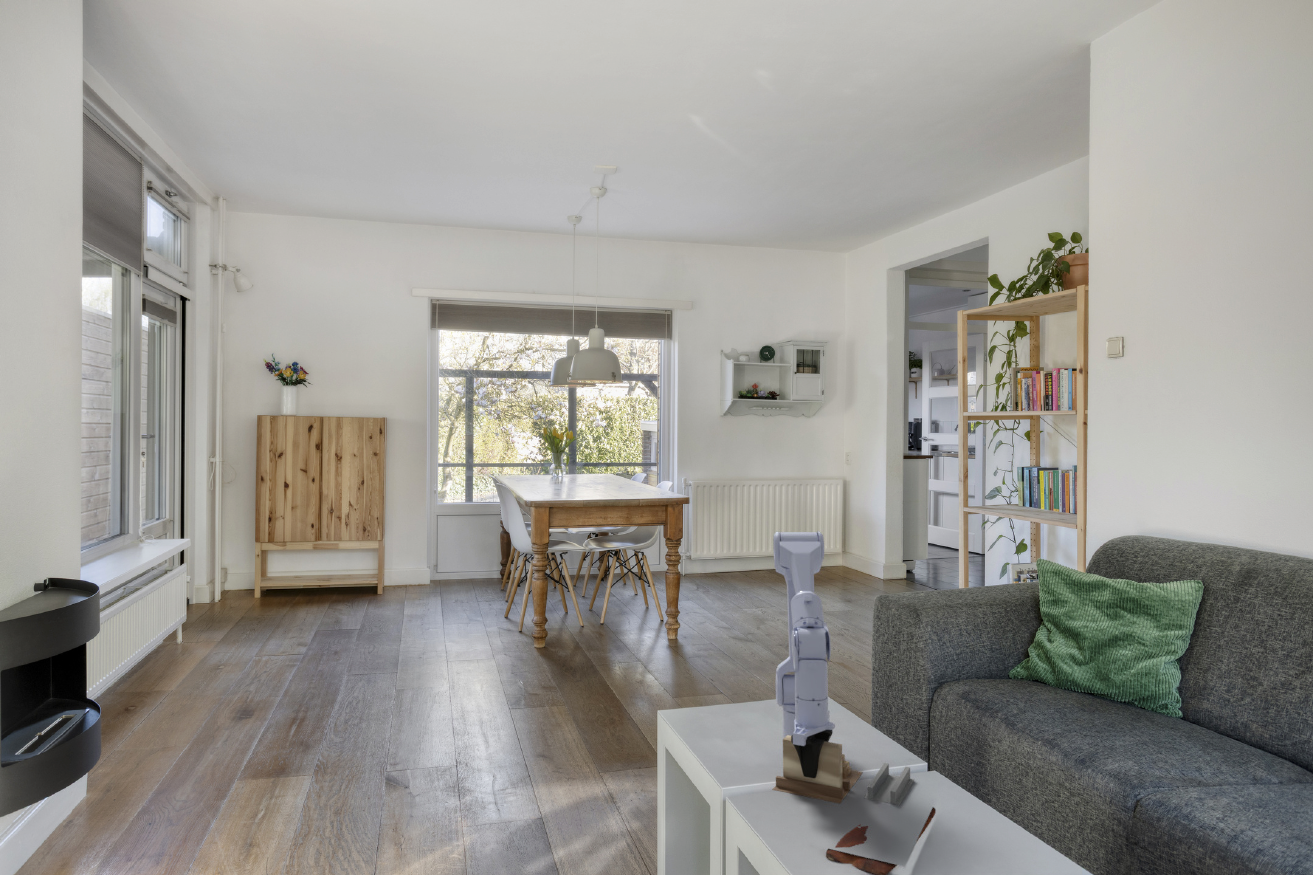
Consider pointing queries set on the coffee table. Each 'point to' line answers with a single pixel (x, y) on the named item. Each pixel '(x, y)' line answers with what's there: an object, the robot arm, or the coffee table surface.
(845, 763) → the offcut stack
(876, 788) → the grey channel block
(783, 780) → the walnut rack
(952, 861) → the coffee table surface
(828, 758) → the birch panel
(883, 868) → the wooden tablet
